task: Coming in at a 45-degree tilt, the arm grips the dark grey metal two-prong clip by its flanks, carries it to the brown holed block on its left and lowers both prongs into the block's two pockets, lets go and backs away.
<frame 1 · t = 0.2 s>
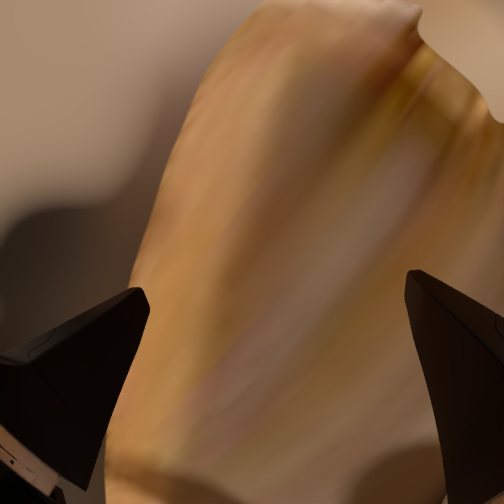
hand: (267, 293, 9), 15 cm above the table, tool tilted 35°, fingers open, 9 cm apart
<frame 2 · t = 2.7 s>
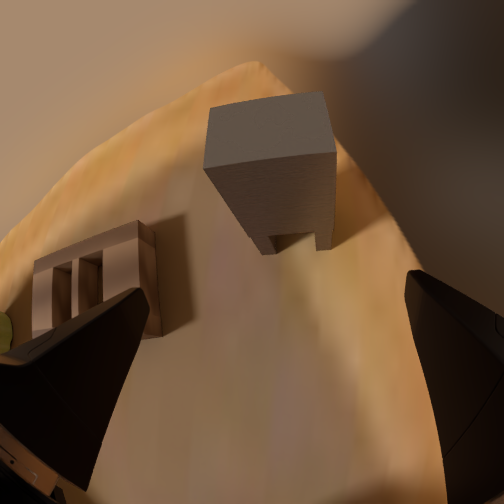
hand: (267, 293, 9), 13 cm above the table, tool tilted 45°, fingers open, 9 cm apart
plant pot: (5, 334, 29), on the table
brown holed block: (94, 296, 27), on the table
clip: (295, 229, 24), on the table
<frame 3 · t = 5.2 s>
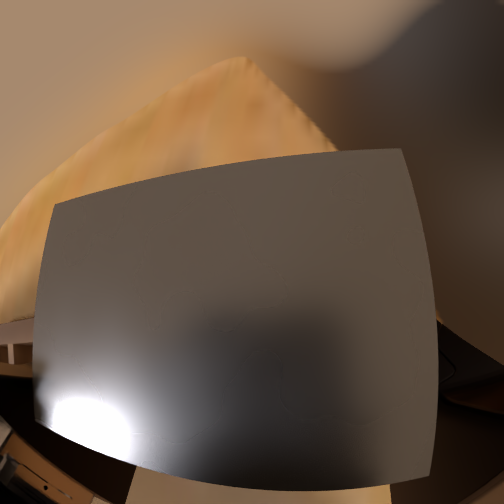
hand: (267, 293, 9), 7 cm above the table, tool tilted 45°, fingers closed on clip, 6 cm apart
brown holed block: (40, 385, 17), on the table
clip: (290, 341, 15), on the table, touching gripper
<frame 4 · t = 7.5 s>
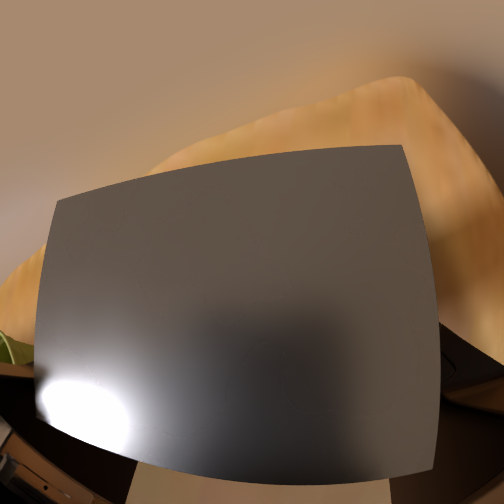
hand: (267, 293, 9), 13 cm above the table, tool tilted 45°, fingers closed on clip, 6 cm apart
plant pot: (59, 377, 25), on the table
clip: (290, 340, 15), point 6 cm above the table, touching gripper
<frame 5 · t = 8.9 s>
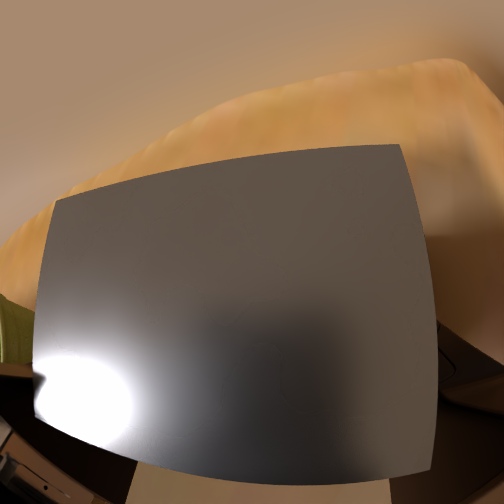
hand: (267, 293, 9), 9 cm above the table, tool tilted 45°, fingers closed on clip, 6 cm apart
plant pot: (56, 353, 21), on the table
clip: (290, 340, 15), point 2 cm above the table, touching gripper
when the fingers open (8 cm above the table, at t = 10.0 s): clip drops 1 cm, resting in brown holed block.
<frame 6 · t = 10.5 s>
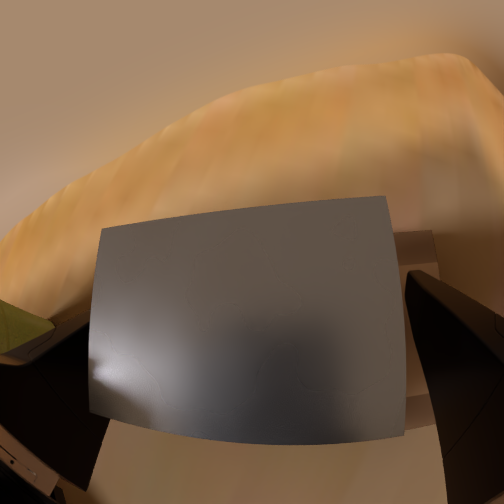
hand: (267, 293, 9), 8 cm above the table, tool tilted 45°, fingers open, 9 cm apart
plant pot: (49, 354, 20), on the table
brown holed block: (292, 342, 16), on the table
clip: (293, 341, 16), resting in brown holed block
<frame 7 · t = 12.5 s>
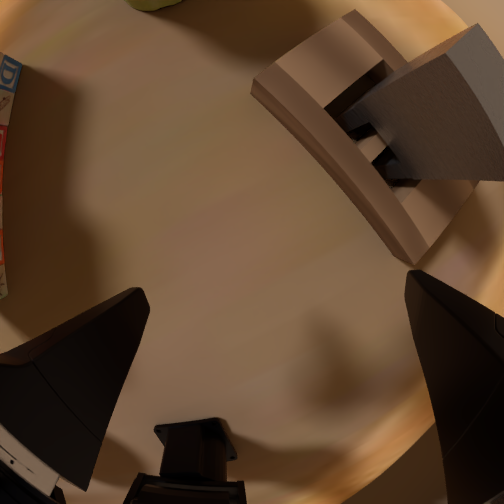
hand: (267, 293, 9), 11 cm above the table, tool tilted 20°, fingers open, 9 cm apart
brown holed block: (374, 133, 19), on the table
clip: (375, 133, 19), resting in brown holed block
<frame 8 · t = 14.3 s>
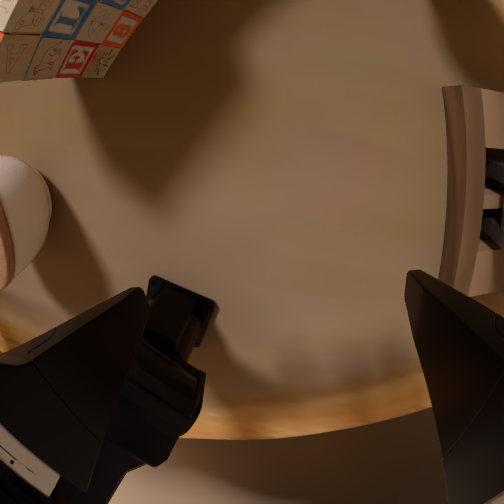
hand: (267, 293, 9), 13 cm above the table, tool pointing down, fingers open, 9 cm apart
lidded bowl: (33, 198, 25), on the table
brown holed block: (493, 190, 17), on the table
clip: (493, 190, 17), resting in brown holed block
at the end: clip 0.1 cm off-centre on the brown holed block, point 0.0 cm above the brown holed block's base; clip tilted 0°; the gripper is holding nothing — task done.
